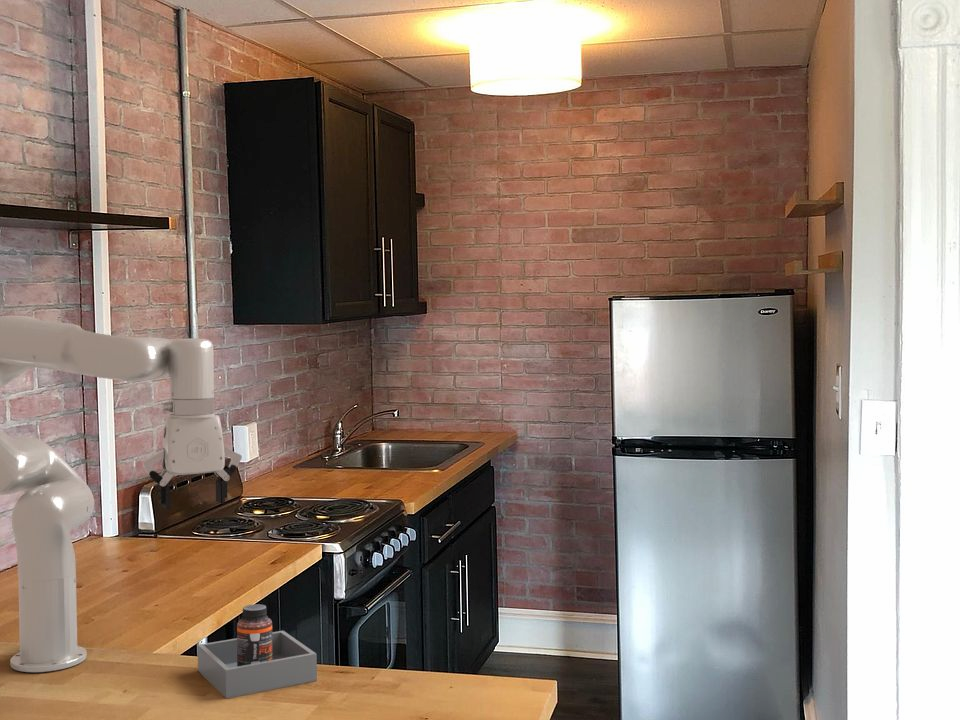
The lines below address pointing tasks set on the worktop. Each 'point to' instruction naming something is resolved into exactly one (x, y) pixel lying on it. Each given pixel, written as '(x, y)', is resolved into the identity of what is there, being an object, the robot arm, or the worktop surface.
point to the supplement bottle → (254, 636)
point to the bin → (257, 666)
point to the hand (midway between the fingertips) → (193, 505)
